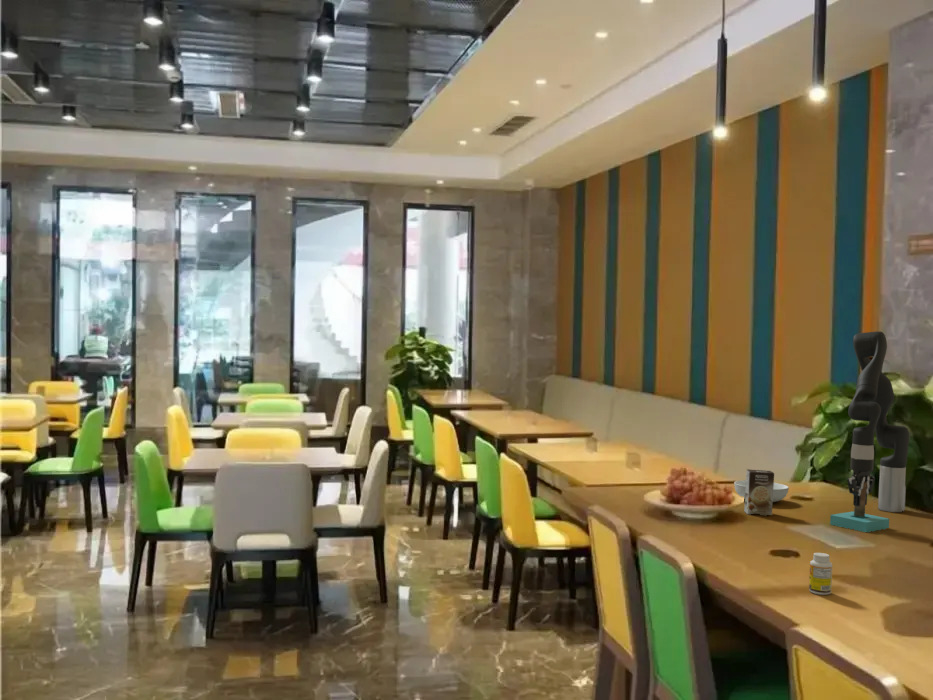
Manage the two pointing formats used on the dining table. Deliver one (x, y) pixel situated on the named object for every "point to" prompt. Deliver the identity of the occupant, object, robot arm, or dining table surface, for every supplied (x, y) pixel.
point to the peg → (861, 502)
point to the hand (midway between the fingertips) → (859, 505)
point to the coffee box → (759, 492)
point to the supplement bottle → (820, 574)
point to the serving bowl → (778, 490)
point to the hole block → (859, 522)
